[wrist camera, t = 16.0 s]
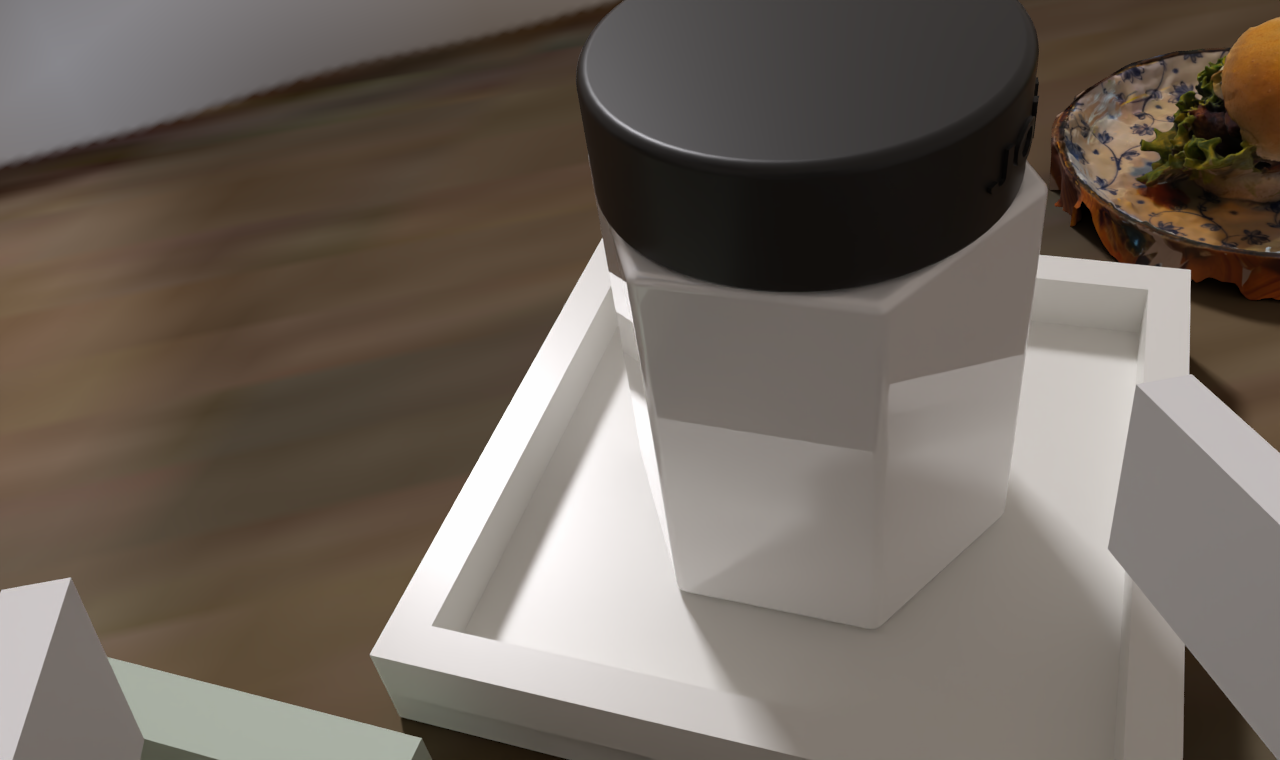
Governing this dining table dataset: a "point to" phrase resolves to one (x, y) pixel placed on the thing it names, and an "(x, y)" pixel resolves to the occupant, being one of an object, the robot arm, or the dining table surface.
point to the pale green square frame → (245, 724)
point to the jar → (819, 281)
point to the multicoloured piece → (1182, 161)
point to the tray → (785, 642)
